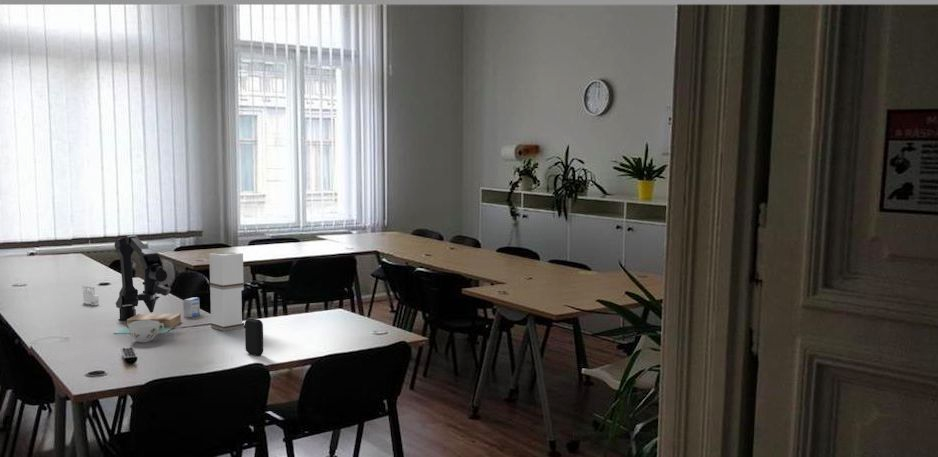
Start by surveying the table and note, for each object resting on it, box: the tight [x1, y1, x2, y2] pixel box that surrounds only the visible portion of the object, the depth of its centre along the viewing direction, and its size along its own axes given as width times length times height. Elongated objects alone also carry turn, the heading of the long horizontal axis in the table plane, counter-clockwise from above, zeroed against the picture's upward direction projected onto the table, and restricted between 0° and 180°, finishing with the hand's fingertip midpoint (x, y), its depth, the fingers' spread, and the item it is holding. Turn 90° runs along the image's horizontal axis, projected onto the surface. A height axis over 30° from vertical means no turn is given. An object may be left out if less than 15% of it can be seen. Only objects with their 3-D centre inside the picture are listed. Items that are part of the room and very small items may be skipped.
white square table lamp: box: [209, 251, 245, 332], centre depth 369 cm, size 11×11×35 cm
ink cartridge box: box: [82, 285, 100, 306], centre depth 426 cm, size 2×11×10 cm, turn 57°
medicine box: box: [182, 296, 201, 318], centre depth 397 cm, size 8×4×9 cm, turn 168°
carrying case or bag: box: [243, 317, 264, 357], centre depth 319 cm, size 11×3×15 cm, turn 54°
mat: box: [113, 326, 173, 335], centre depth 362 cm, size 22×12×1 cm, turn 91°
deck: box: [126, 313, 182, 329], centre depth 374 cm, size 20×14×4 cm
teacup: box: [128, 320, 164, 343], centre depth 342 cm, size 15×12×8 cm
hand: (151, 312), depth 371 cm, fingers closed
